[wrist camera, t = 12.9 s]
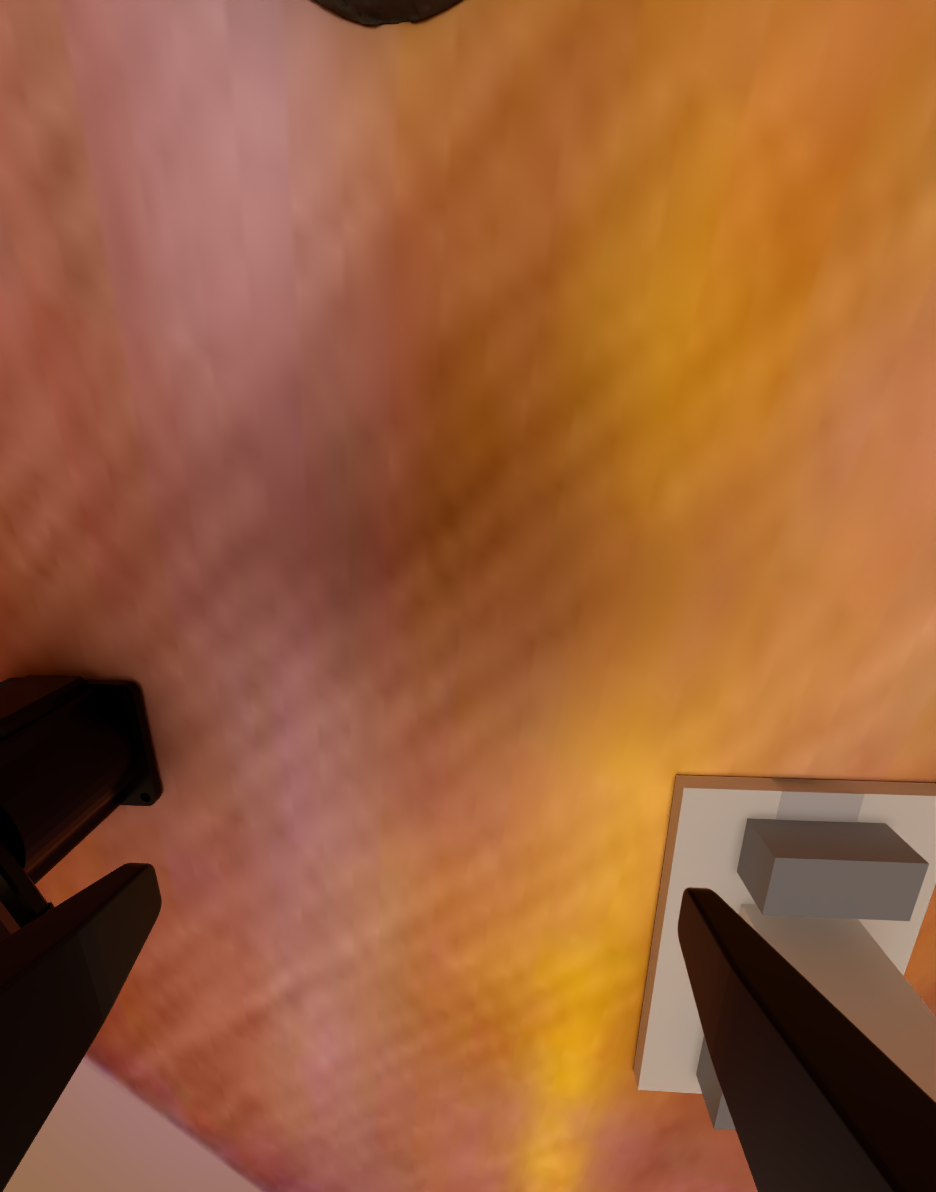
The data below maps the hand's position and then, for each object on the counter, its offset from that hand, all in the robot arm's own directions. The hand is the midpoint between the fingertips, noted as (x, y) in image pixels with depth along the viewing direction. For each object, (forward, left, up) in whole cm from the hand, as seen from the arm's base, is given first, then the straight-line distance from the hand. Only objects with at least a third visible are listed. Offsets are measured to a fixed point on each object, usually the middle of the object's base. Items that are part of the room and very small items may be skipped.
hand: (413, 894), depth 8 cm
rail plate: (-17, -16, -13) cm, 27 cm away
